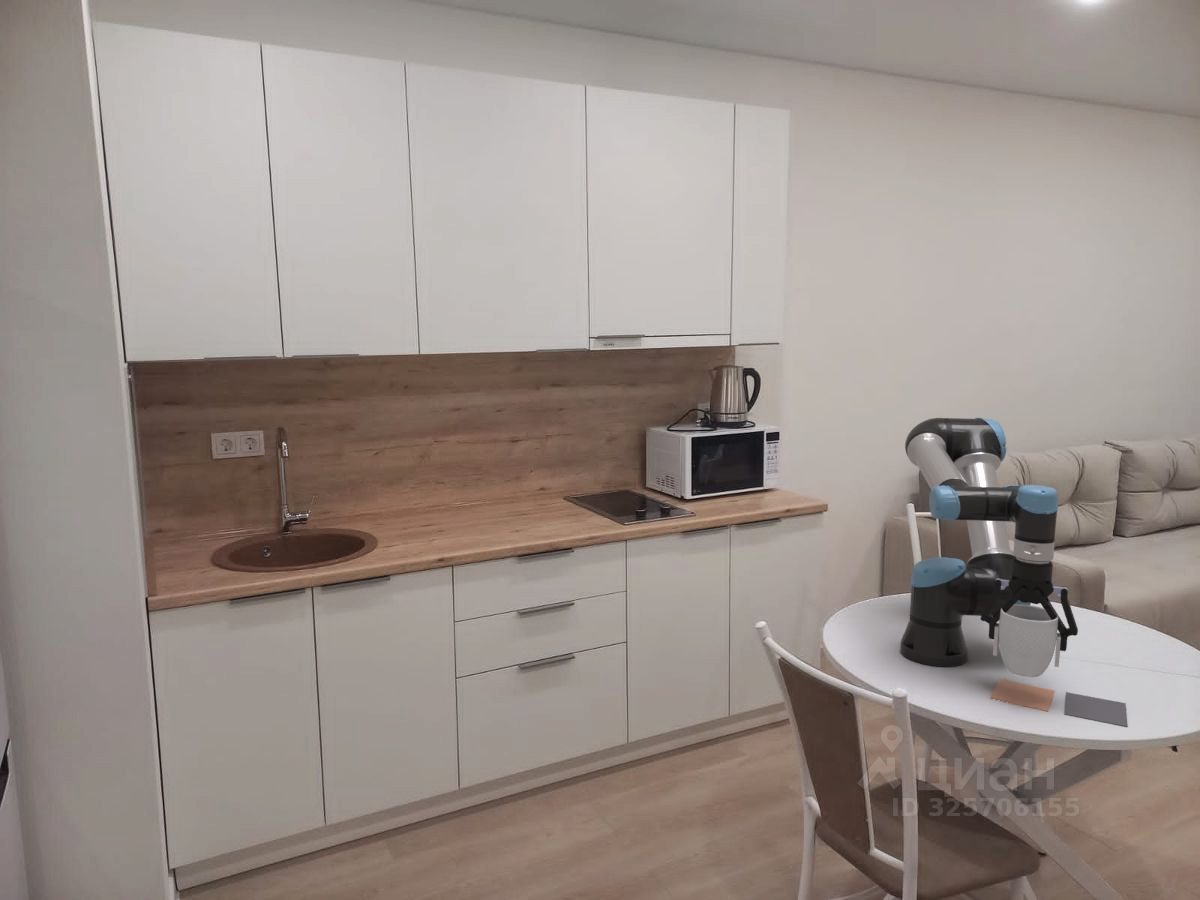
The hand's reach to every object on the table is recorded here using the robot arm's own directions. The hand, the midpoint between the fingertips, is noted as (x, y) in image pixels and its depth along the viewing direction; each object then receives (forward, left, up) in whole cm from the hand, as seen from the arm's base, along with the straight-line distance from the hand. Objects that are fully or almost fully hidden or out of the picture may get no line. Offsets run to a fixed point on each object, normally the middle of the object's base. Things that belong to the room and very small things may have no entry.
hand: (1025, 659), depth 179 cm
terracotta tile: (0, 0, -9) cm, 9 cm away
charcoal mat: (+13, 0, -9) cm, 16 cm away
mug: (-1, 0, -3) cm, 3 cm away
